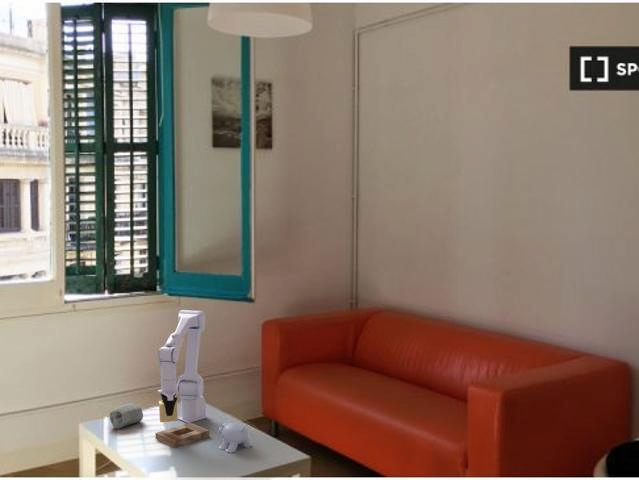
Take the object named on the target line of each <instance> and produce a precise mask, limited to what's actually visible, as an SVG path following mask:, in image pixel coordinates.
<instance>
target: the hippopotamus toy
mask: <svg viewBox="0 0 639 480" xmlns="http://www.w3.org/2000/svg"><path fill="white" fill-rule="evenodd" d="M247 427H248V425H243V424H241V423H238V422H232V421H231V422H224V423H222V424H221V425H220V426H218V433H219V434H220V435H221V437H222V439H223V441H222V443H221V445H220V446H218V449H220V450H222V449H225V450H224V451H225V452H227V453H228V452H229V453H228V454H231V453H232V452H233V453H235V452H236V451H237V448H238V445H240V444H241V446H242V447H243V446H244V447H243V448H246V447H249V448H251V447H250V446H252V447H253V444H252V442H251V440H250V438H249V430H248V428H247Z"/></svg>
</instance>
